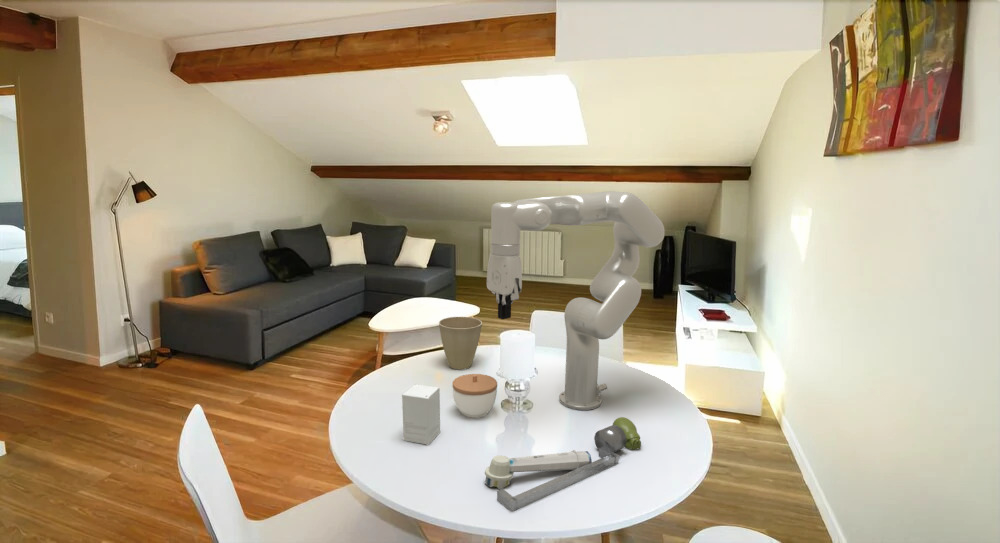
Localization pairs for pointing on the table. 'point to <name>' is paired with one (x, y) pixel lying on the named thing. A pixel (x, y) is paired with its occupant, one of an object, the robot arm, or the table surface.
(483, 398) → the lidded bowl
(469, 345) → the plant pot
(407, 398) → the supplement box
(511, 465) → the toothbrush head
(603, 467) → the ladle
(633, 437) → the pear
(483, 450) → the table surface
